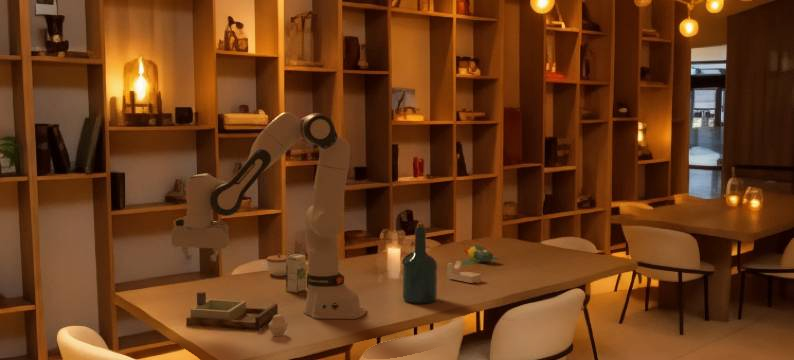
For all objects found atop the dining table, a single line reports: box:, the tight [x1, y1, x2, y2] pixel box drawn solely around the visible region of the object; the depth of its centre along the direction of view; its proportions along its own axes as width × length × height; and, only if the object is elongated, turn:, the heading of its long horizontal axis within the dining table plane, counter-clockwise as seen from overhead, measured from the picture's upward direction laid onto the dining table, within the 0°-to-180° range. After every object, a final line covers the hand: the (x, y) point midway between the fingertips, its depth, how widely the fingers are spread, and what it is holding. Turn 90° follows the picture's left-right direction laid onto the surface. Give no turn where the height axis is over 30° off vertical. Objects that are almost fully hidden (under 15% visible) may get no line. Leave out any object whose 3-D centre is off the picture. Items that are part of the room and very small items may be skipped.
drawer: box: [190, 291, 247, 320], centre depth 252 cm, size 15×14×8 cm
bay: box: [185, 303, 279, 331], centre depth 251 cm, size 26×17×4 cm, turn 78°
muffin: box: [267, 314, 288, 337], centre depth 235 cm, size 6×6×7 cm
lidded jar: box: [266, 253, 288, 277], centre depth 323 cm, size 11×11×9 cm
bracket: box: [446, 260, 482, 284], centre depth 314 cm, size 13×7×8 cm, turn 48°
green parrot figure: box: [452, 244, 500, 266], centre depth 354 cm, size 28×9×15 cm
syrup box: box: [285, 253, 307, 294], centre depth 294 cm, size 6×6×14 cm
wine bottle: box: [401, 222, 438, 305], centre depth 280 cm, size 14×13×30 cm
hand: (201, 260), depth 252 cm, fingers open, 8 cm apart
